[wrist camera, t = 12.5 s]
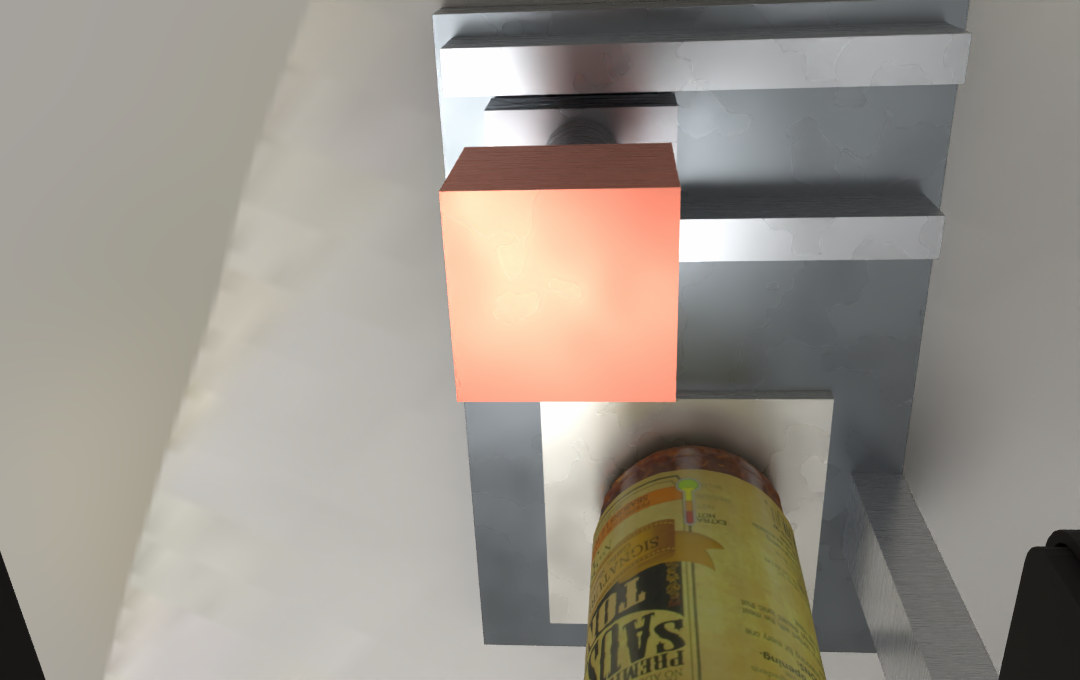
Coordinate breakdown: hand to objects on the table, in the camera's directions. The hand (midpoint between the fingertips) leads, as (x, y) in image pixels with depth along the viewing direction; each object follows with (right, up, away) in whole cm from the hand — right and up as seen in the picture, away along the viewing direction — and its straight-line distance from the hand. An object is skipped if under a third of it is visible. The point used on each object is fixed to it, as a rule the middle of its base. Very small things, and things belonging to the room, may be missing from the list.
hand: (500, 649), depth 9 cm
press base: (+5, +2, +23) cm, 23 cm away
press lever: (+2, +8, +18) cm, 20 cm away
